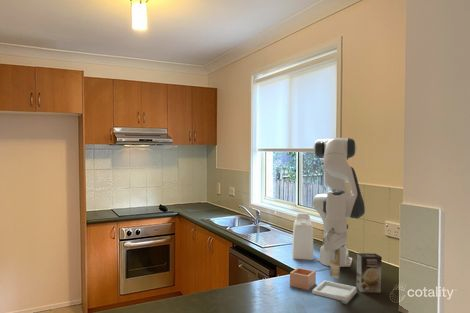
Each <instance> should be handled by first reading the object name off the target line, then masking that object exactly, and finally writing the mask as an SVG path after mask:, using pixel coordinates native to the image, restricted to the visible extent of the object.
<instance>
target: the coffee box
mask: <svg viewBox="0 0 470 313" xmlns="http://www.w3.org/2000/svg"><path fill="white" fill-rule="evenodd" d="M356 256H357V257H356V276H355V277H356V281H355V282H356V283H355V287H357V291H359V292H360V293H381V291H382V290H381V288H382V286H381V285H382V261H383V260H382V256H381V255H379V254H377V253H371V252H370V253H365V252H363V253H362V252H357V253H356Z"/></svg>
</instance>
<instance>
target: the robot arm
mask: <svg viewBox="0 0 470 313" xmlns="http://www.w3.org/2000/svg"><path fill="white" fill-rule="evenodd" d="M356 151H357V144H356V140H354V139H353V138H350V137H347V138H345V137H334V138H333V137H332V138H331V137H329V138H320V139H319V138H318V139H317V140H315V142H314V145H313V152H314V154H315V156H316V157H317V158H318V159H323V166H324V172H323V173H324V174H323V175H324V184H325V186H326V187H328V188H330V189H329V190H328V191H327V193H319V194H315V196H314V197H313V199H312V206H313V209H314V210H315V211H316V212H317V213H318V214H319V216H320V218H321V220H322V223H323V238H322V245H321V246H320V248H319V249H320V250H319V251H320V252H319V258H317V259H316V261H317V262H320V264H322V265H324V266H326V267H327V266H328V267H330V255H331V260H335V259H336V256H335V250H337V249H340V268H342V267H343V268H344V267H348V268H349V267H352V266H351V265H352V262H353V257H349V249H348V248H347V246H346V242H347V239H348V238H347V237H348V229H349V224H348V223H347V218H351V219H359V218H362V217H363V216H364V214H365V213H366V205H365V204H366V203H365V201H364V198H363V196H362V192H361V188H360V185H359V180H358V177H357V174H356V171H355V168H354V167H352V166H350V164H349V162H348V161H347V160H349V159H350V158H353V157H354V156H355V154H356V153H357V152H356ZM346 184H348V186H349V189H348V187H347V185H346Z"/></svg>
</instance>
